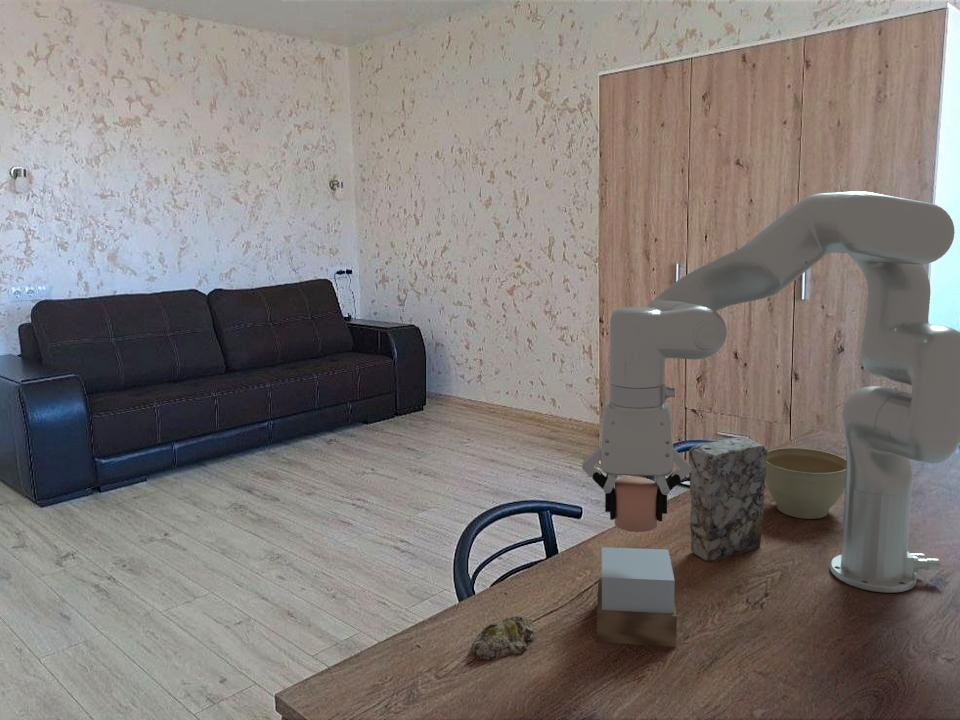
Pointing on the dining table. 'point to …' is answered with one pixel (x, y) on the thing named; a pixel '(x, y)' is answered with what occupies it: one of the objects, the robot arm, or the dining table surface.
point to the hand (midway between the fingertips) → (635, 515)
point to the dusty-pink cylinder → (636, 504)
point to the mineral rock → (504, 638)
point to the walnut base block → (635, 626)
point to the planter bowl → (805, 481)
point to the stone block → (726, 497)
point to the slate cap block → (637, 580)
